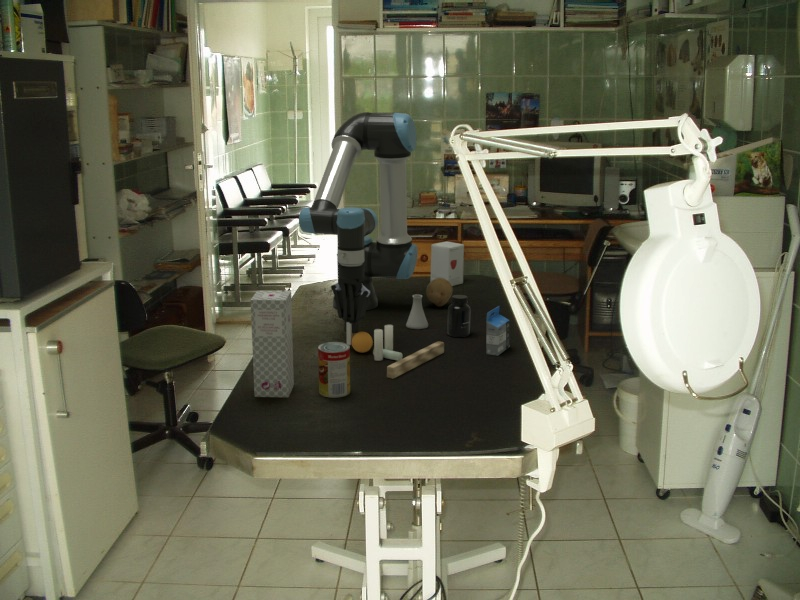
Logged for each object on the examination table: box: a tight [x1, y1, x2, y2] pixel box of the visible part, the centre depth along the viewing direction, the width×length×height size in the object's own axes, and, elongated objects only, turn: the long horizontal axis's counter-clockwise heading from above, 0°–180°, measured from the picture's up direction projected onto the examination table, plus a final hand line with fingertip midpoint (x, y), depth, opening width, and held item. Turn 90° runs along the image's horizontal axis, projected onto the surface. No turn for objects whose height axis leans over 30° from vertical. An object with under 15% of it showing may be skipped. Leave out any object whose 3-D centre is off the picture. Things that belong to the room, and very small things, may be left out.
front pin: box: [372, 348, 403, 362], centre depth 247 cm, size 2×2×8 cm
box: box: [250, 290, 295, 398], centre depth 219 cm, size 8×8×25 cm
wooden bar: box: [386, 340, 445, 380], centre depth 242 cm, size 26×2×3 cm, turn 146°
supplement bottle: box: [447, 294, 471, 338], centre depth 267 cm, size 7×7×12 cm
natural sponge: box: [425, 278, 454, 308], centre depth 297 cm, size 9×9×10 cm
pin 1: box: [373, 328, 384, 362], centre depth 245 cm, size 2×2×8 cm
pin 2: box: [384, 324, 394, 351], centre depth 249 cm, size 2×2×8 cm
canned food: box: [317, 341, 351, 399], centre depth 221 cm, size 8×8×12 cm
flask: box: [405, 294, 429, 330], centre depth 275 cm, size 7×7×10 cm
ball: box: [351, 331, 374, 353], centre depth 251 cm, size 6×6×6 cm
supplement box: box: [430, 241, 465, 287], centre depth 327 cm, size 9×9×15 cm
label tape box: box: [485, 305, 511, 356], centre depth 252 cm, size 9×4×12 cm, turn 151°
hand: (351, 343), depth 253 cm, fingers closed
